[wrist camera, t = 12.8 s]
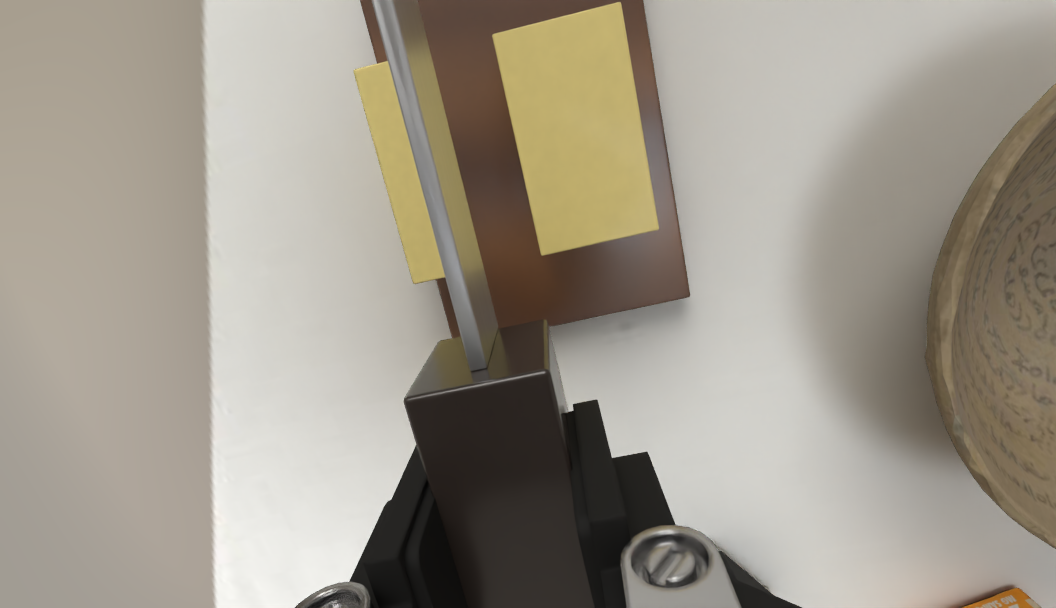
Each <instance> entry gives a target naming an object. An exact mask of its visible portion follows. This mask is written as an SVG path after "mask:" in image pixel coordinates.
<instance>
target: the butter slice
mask: <svg viewBox="0 0 1056 608" xmlns="http://www.w3.org/2000/svg"><path fill="white" fill-rule="evenodd" d="M354 75H355V79H356V82H357V86H358V89H359V93H360V96H361V100H362V103H363V107H364V111H365V114H366V118H367V121H368V125H369V128H370V132H371V135H372V139H373V142H374V146H375V150H376V153H377V157H378V160H379V164H380V167H381V171H382V174H383V178H384V181H385V185H386V189H387V192H388V196H389V199H390V203H391V206H392V210H393V213H394V217H395V220H396V224H397V228H398V231H399V235H400V238H401V242H402V245H403V249H404V252H405V256H406V259H407V263H408V267H409V270H410V274H411V277H412V281H413V283H414V284H417V283H422V282H426V281H431V280H435V279H440V278H444V277H445V274H444V270H443V267H442V263H441V259H440V255H439V251H438V248H437V244H436V240H435V236H434V233H433V229H432V225H431V221H430V218H429V214H428V210H427V206H426V203H425V199H424V195H423V191H422V188H421V184H420V180H419V176H418V173H417V169H416V165H415V161H414V158H413V154H412V150H411V146H410V143H409V139H408V135H407V131H406V128H405V124H404V120H403V116H402V112H401V109H400V105H399V101H398V97H397V94H396V90H395V86H394V82H393V79H392V75H391V71H390V67H389V64H388V61H386V62H382V63H378V64H374V65H370V66H366V67H362V68H358V69H355V70H354Z"/></svg>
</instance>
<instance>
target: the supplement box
mask: <svg viewBox="0 0 1056 608" xmlns="http://www.w3.org/2000/svg"><path fill="white" fill-rule="evenodd" d="M962 608H1042V607H1040V606H1039V605H1038V604H1037V603H1036V602H1035V601H1033V600H1032V599H1031V598H1030V597H1029V596H1028V595H1027V594H1025V593H1024V592H1023V591H1022V590H1021V589H1019V588H1013V589H1011V590H1007V591H1004V592H1002V593H999V594H997V595H995V596H993V597H990V598H988V599H985V600H982V601H979V602H975V603H973V604H970V605H968V606H965V607H962Z"/></svg>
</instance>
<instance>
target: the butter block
mask: <svg viewBox="0 0 1056 608" xmlns="http://www.w3.org/2000/svg"><path fill="white" fill-rule="evenodd" d="M492 37H493V42H494V46H495V51H496V55H497V60H498V64H499V69H500V73H501V78H502V82H503V87H504V91H505V96H506V100H507V105H508V109H509V114H510V118H511V123H512V127H513V132H514V136H515V141H516V145H517V149H518V154H519V158H520V163H521V167H522V172H523V176H524V181H525V185H526V190H527V194H528V199H529V203H530V208H531V212H532V217H533V221H534V226H535V230H536V235H537V239H538V244H539V248H540V253H541V255H542V256H544V255H548V254H553V253H557V252H562V251H566V250H571V249H575V248H580V247H584V246H588V245H593V244H597V243H602V242H606V241H611V240H615V239H620V238H624V237H629V236H633V235H638V234H642V233H647V232H651V231H656V230H659V225H658V219H657V213H656V207H655V201H654V195H653V189H652V183H651V177H650V171H649V165H648V159H647V154H646V148H645V142H644V136H643V130H642V124H641V118H640V112H639V106H638V100H637V94H636V88H635V82H634V77H633V71H632V65H631V59H630V53H629V47H628V41H627V35H626V29H625V23H624V17H623V11H622V5H621V2H617V3H613V4H609V5H605V6H601V7H597V8H593V9H590V10H586V11H582V12H578V13H574V14H570V15H566V16H562V17H558V18H554V19H550V20H546V21H542V22H539V23H535V24H531V25H527V26H523V27H519V28H515V29H511V30H507V31H503V32H499V33H495V34H493V35H492Z"/></svg>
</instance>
